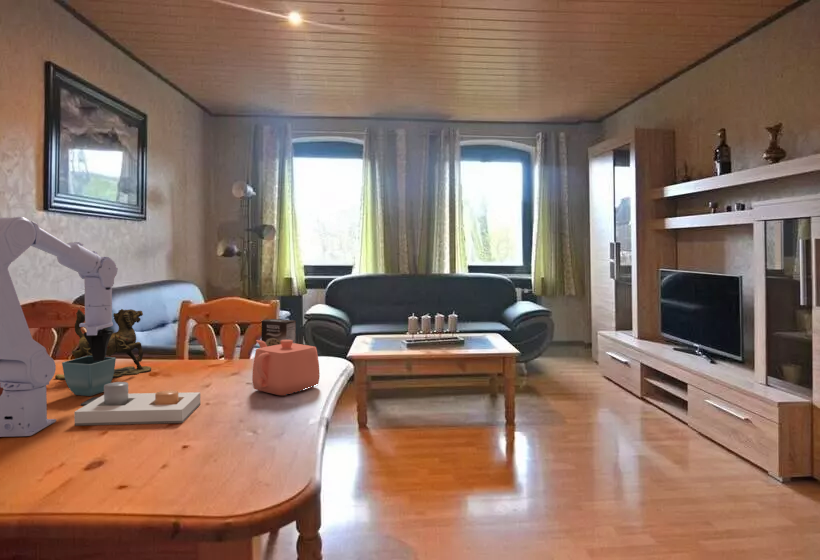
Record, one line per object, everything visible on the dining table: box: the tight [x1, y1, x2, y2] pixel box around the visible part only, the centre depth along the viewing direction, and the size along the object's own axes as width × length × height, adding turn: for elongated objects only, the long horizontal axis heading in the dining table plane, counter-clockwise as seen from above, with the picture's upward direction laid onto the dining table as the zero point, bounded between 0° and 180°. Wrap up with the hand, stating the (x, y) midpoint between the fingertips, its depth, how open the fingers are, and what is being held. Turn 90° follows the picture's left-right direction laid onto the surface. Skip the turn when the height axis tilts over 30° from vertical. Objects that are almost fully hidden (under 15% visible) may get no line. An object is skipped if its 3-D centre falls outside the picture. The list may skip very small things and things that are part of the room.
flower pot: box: [61, 356, 117, 397], centre depth 134 cm, size 9×9×9 cm
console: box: [73, 391, 201, 427], centre depth 117 cm, size 14×22×3 cm, turn 97°
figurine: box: [54, 308, 152, 381], centre depth 154 cm, size 13×25×20 cm, turn 118°
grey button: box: [103, 381, 129, 405], centre depth 117 cm, size 5×5×4 cm
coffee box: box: [261, 318, 297, 347], centre depth 164 cm, size 9×6×16 cm
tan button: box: [155, 390, 179, 405], centre depth 118 cm, size 5×5×4 cm
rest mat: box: [80, 396, 100, 407], centre depth 127 cm, size 6×6×1 cm
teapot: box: [251, 339, 321, 396], centre depth 142 cm, size 20×19×14 cm
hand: (99, 360), depth 126 cm, fingers closed
